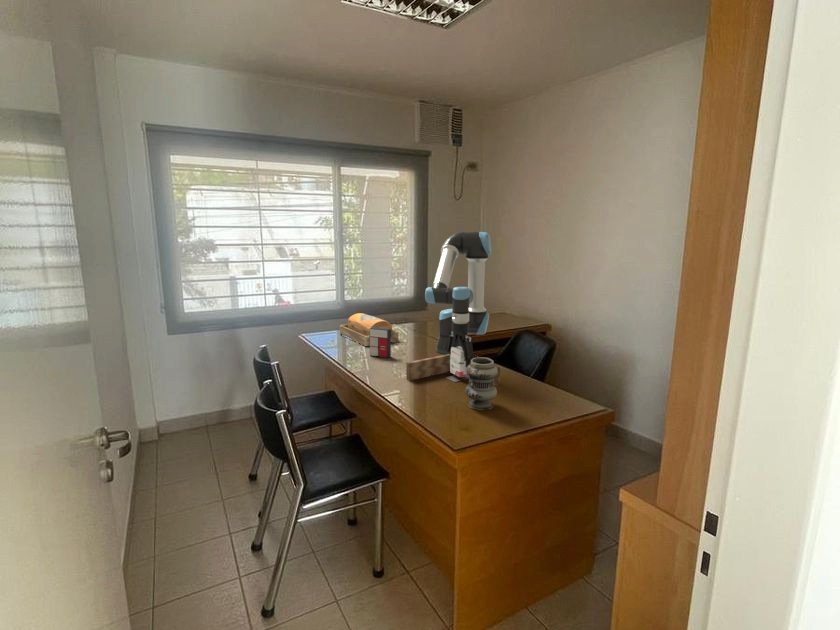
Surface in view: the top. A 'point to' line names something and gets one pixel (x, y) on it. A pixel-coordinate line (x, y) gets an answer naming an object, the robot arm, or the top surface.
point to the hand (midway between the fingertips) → (459, 370)
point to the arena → (436, 369)
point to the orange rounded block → (366, 323)
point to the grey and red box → (380, 342)
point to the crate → (362, 338)
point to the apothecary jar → (481, 383)
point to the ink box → (457, 361)
